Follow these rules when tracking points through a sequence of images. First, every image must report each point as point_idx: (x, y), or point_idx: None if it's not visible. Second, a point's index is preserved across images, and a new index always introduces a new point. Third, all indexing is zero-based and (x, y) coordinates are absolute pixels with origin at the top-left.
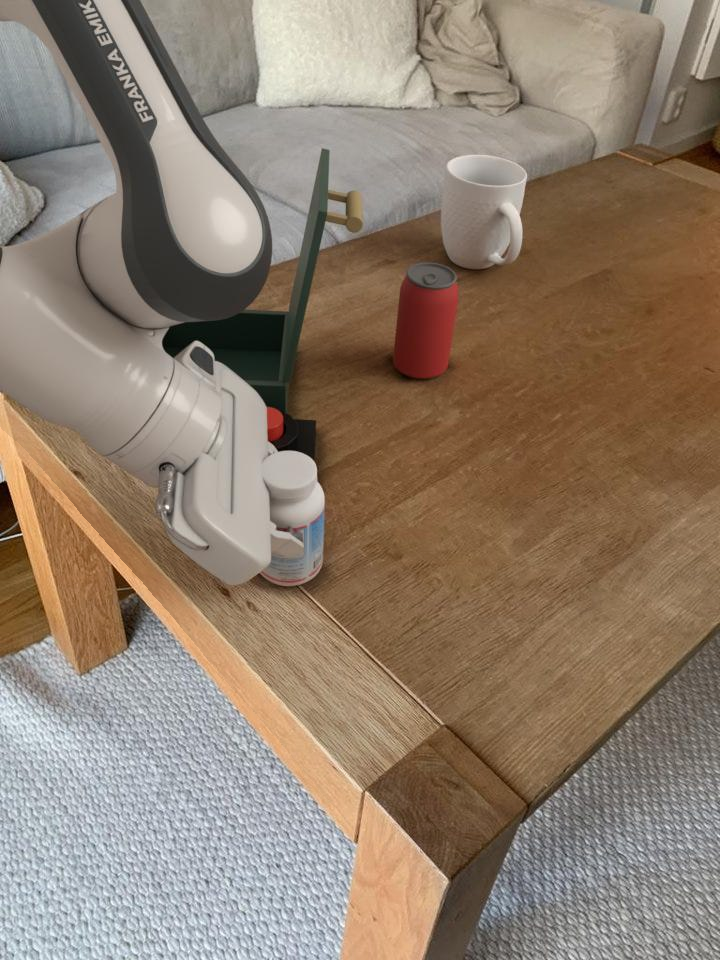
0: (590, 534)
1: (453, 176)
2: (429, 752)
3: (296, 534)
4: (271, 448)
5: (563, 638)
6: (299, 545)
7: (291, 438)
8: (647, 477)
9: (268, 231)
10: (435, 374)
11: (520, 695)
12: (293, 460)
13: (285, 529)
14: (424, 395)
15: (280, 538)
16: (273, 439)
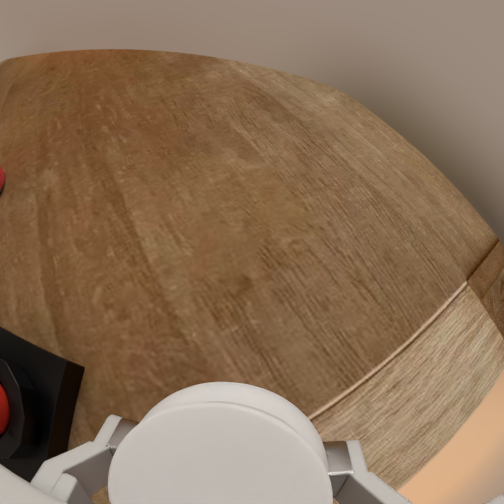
0: (244, 109)
1: None
2: (487, 299)
3: (336, 458)
4: (57, 475)
5: (368, 160)
6: (361, 450)
7: (9, 374)
8: (190, 74)
9: None
10: (2, 179)
11: (430, 211)
12: (166, 479)
13: None
14: (14, 196)
15: (399, 494)
16: (6, 403)
